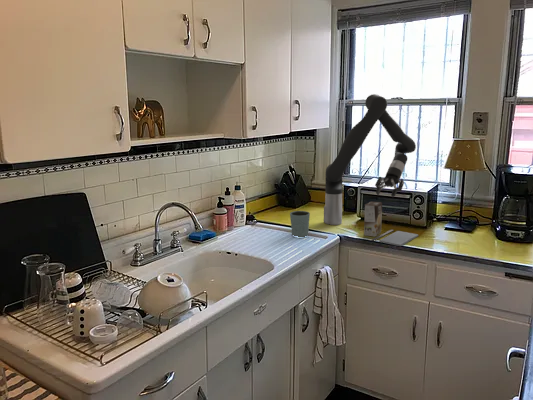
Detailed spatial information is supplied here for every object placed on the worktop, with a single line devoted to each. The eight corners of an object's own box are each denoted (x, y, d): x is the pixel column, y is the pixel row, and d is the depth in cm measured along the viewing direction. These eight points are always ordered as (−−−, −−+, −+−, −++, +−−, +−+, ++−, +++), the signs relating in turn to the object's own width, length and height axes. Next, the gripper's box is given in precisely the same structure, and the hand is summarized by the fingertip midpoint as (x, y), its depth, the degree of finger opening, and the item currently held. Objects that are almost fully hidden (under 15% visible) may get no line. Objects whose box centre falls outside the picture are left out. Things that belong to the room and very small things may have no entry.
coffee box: (375, 237, 228) (377, 206, 225) (363, 235, 232) (364, 204, 228) (381, 232, 236) (382, 202, 232) (369, 230, 239) (370, 200, 236)
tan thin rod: (370, 240, 223) (370, 239, 223) (390, 230, 239) (390, 229, 239) (373, 241, 222) (373, 240, 222) (393, 230, 238) (393, 230, 238)
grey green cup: (295, 239, 227) (295, 216, 224) (286, 234, 236) (286, 211, 233) (313, 236, 231) (313, 214, 228) (304, 231, 240) (304, 209, 237)
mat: (379, 241, 221) (379, 240, 220) (397, 232, 235) (397, 230, 235) (400, 246, 214) (400, 244, 213) (418, 236, 228) (418, 234, 228)
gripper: (381, 165, 246) (370, 189, 240) (406, 167, 237) (395, 192, 231) (385, 173, 251) (374, 197, 246) (409, 176, 242) (399, 201, 236)
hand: (384, 195), depth 238 cm, fingers open, 8 cm apart
